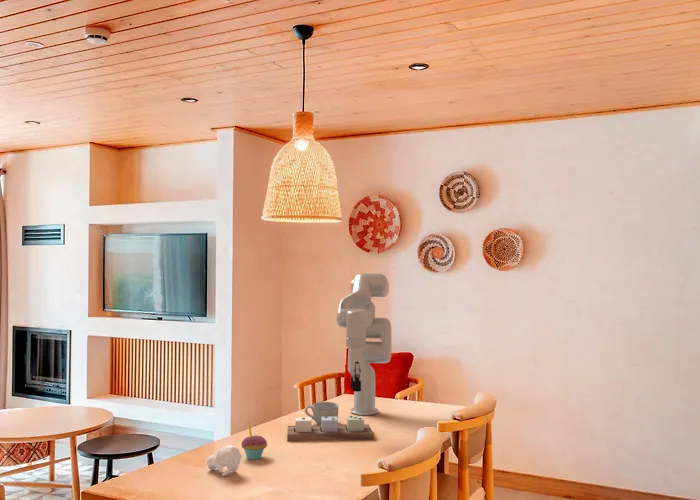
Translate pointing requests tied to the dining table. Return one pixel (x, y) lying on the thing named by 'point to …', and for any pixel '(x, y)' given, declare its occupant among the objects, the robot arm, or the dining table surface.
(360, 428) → the pale green block
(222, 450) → the white animal figurine
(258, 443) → the cupcake
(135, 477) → the dining table surface
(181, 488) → the dining table surface
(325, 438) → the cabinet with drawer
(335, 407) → the teacup
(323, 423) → the white die
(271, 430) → the dining table surface
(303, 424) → the cream square block
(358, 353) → the robot arm
